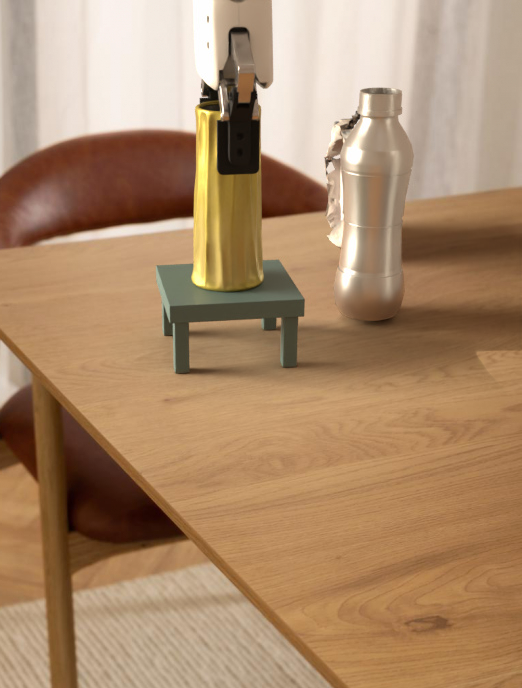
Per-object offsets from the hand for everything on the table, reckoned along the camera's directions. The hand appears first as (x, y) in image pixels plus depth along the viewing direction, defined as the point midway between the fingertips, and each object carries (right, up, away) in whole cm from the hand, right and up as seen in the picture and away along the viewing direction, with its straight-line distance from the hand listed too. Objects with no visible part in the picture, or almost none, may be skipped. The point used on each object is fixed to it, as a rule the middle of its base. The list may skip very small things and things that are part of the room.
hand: (228, 159), depth 95 cm
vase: (0, -9, +5) cm, 10 cm away
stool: (0, -14, +8) cm, 16 cm away
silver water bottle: (+13, -11, +14) cm, 22 cm away
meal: (+14, 0, +35) cm, 38 cm away
